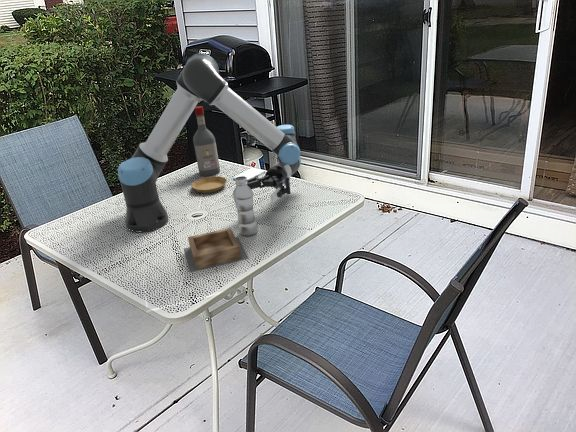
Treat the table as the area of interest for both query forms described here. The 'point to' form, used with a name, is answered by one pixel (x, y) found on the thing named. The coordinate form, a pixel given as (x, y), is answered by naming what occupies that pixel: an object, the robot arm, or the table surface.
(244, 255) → the mat
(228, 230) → the wooden tray
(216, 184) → the plant saucer
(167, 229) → the table surface
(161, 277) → the table surface
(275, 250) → the table surface
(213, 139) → the liquor
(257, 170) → the external hard drive
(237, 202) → the plastic bottle
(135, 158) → the robot arm
